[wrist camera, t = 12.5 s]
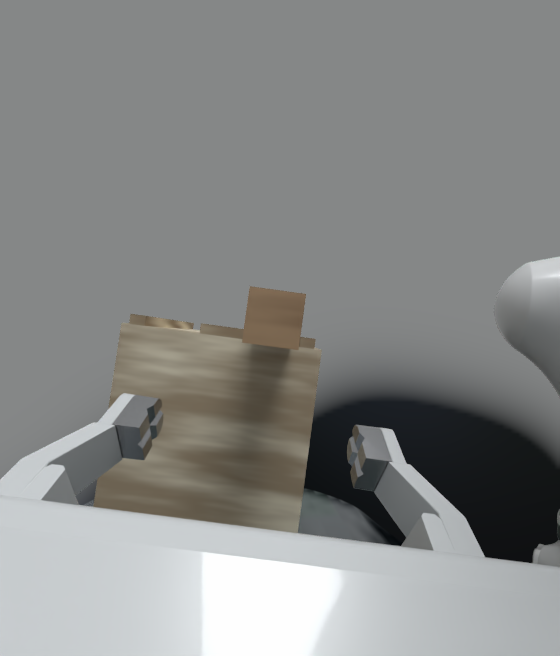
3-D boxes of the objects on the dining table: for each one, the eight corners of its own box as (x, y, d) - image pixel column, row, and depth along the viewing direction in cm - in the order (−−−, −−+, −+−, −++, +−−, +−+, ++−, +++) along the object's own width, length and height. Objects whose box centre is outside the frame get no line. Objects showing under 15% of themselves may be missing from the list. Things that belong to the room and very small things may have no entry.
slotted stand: (154, 494, 42) (179, 321, 43) (282, 510, 43) (305, 338, 43) (80, 590, 26) (123, 312, 27) (286, 615, 27) (322, 340, 27)
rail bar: (259, 339, 39) (263, 311, 39) (287, 342, 39) (290, 315, 39) (241, 342, 19) (249, 286, 19) (298, 350, 19) (306, 294, 19)
